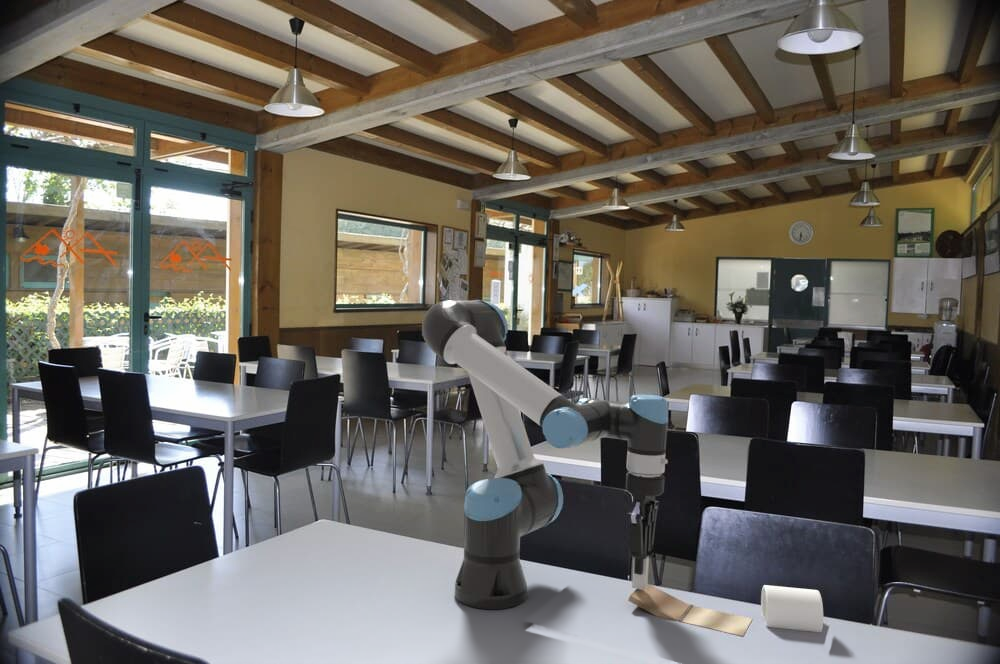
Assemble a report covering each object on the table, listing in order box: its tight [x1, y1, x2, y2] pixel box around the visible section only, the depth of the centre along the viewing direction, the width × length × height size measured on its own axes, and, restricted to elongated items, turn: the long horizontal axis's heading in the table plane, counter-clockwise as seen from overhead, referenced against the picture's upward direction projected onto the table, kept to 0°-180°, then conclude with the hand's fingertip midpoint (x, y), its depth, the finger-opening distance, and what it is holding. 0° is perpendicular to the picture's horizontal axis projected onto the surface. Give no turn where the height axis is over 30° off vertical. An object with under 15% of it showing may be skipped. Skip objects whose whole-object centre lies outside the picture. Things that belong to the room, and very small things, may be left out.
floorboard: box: [677, 604, 753, 638], centre depth 144 cm, size 12×8×2 cm
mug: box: [760, 584, 824, 633], centre depth 146 cm, size 12×10×8 cm
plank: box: [628, 583, 690, 622], centre depth 149 cm, size 10×8×1 cm
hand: (639, 587), depth 151 cm, fingers closed
